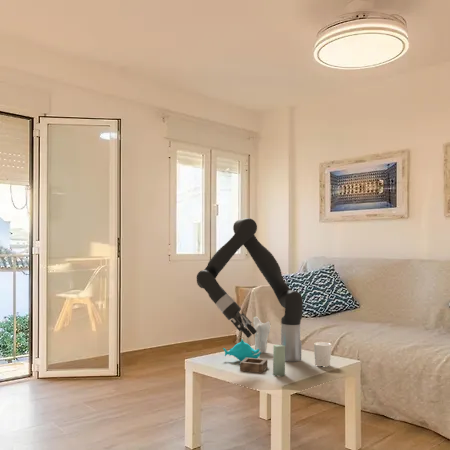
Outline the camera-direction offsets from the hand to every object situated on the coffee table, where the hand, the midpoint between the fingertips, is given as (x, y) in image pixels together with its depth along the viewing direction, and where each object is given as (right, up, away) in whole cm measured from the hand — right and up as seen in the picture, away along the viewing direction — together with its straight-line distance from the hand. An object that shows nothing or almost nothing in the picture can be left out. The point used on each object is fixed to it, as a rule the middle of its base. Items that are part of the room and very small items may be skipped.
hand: (252, 334), depth 208 cm
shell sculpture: (+7, -18, +38) cm, 43 cm away
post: (+11, -16, -4) cm, 20 cm away
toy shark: (-4, -17, +18) cm, 25 cm away
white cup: (+33, -17, +13) cm, 39 cm away
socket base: (+1, -16, +5) cm, 17 cm away
